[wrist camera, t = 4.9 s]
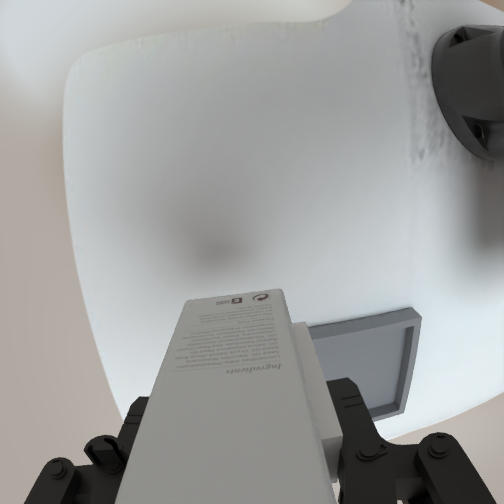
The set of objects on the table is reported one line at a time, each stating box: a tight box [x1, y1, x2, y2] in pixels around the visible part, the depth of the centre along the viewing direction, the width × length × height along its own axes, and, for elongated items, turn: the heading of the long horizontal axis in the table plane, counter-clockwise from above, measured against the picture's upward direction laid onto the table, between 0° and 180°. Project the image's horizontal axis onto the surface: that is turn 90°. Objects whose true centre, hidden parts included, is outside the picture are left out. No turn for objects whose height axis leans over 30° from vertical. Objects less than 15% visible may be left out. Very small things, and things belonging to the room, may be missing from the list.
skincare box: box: [115, 289, 337, 504], centre depth 8 cm, size 6×4×12 cm
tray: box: [308, 308, 422, 422], centre depth 29 cm, size 20×14×2 cm
